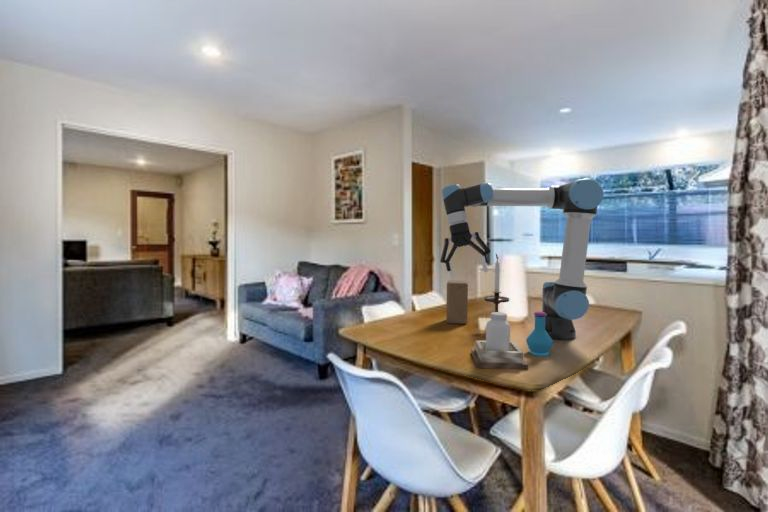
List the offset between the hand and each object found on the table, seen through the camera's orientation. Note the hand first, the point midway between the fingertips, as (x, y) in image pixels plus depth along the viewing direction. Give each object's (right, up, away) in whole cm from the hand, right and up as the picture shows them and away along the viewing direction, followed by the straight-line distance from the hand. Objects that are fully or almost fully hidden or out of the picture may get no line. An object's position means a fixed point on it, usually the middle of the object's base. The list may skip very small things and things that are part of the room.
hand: (469, 275), depth 157 cm
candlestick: (+17, -26, +22) cm, 38 cm away
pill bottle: (+5, -27, -21) cm, 35 cm away
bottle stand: (+5, -28, -21) cm, 36 cm away
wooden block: (+2, -25, +38) cm, 45 cm away
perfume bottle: (+23, -28, -12) cm, 38 cm away
